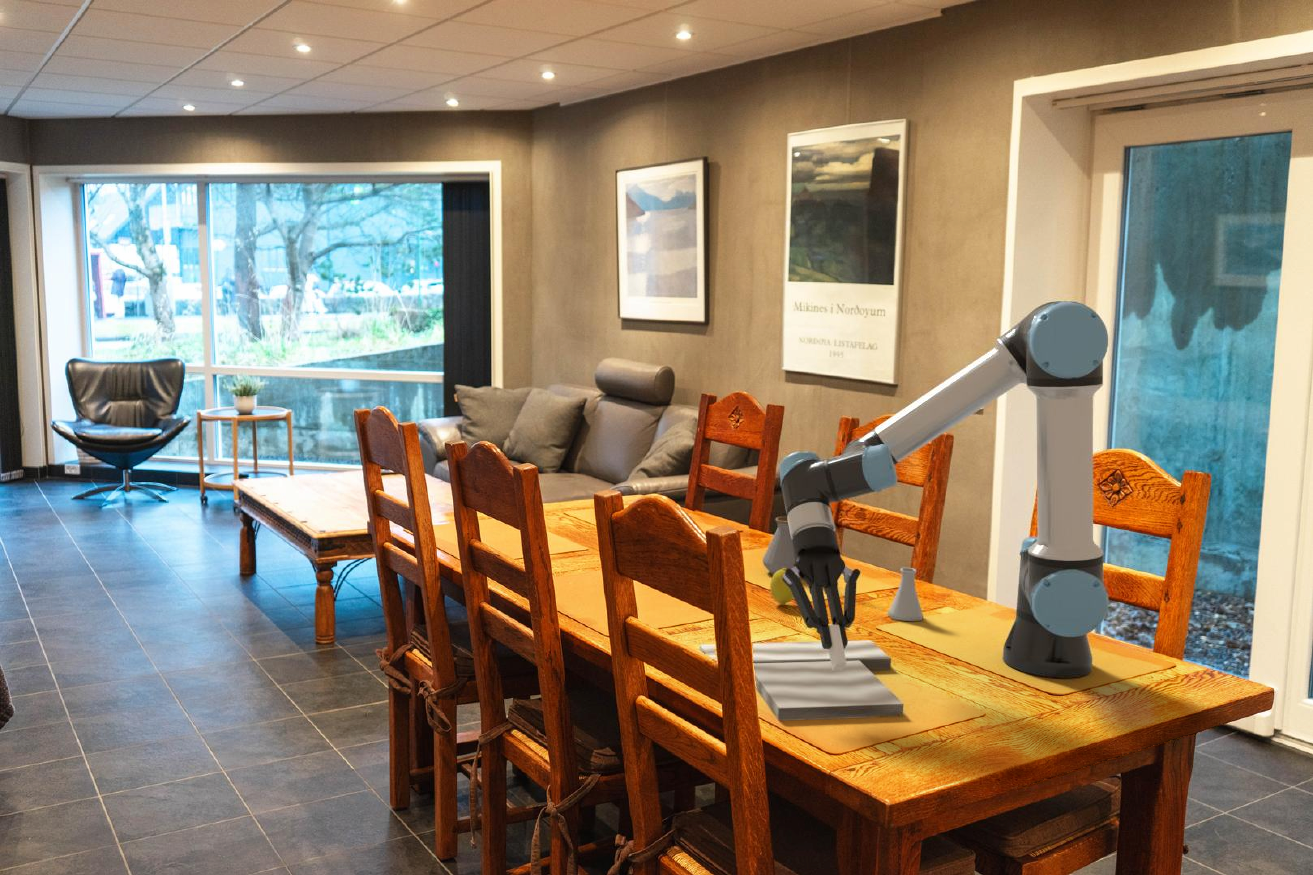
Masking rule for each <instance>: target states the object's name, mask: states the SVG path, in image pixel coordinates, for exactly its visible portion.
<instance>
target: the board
mask: <svg viewBox="0 0 1313 875" xmlns="http://www.w3.org/2000/svg"><path fill="white" fill-rule="evenodd" d="M715 644H716V643H714V644H713V643H712V644H711V643H709V644H705V643H704V644H699V652H700V651H701V652H702V653H704V654H706V655H709V656H710V657H711V658H712V659H716V655H715ZM844 653H845V658H846V661H858V660H859V661H860V662H861V663H862V664H863V665H865V666H866V667H867V668H868V669H869V670H870V671H879V670H880V671H882V670H883V671H884V670H885V671H886V670H888V671H889V670H891V669H892V668H891V666H892V665H891V663H892V658H891V657H890V656H889V655H888V654H886V652H884V650H882V649H881V648H880V647H879V646H878V645H877V644H876V643H875V642H873V641H872V640H870V639H869V640H866V639H865V640H848V643H847V646H846V647H845V649H844ZM822 661H831V660H830V655H829V650H828V649H824V648H823V647H822V642H821V641H794V642H793V641H790V642H788V641H787V642H753V663H786V662H822Z"/></svg>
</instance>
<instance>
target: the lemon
mask: <svg viewBox="0 0 1313 875" xmlns="http://www.w3.org/2000/svg"><path fill="white" fill-rule="evenodd" d="M786 570H787V569H786V568H782V569H781V570H778V571H777V572H775V574H774V575H773V574H772V577H771V580H770V585H769V588H770V590H769V591H770V594H771V596H772V598H773V599H774V600H775V601H776V602H778V603H779V605H780V606H785V605H786V604H788V603H789V602H791V601H793V599H794V597H793V594H792V592H791V590H790V588H789V587H788V586H787V585H786V584H785V583H784V581H783V580H782V577H783V575H784V573H785V571H786Z"/></svg>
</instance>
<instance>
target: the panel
mask: <svg viewBox="0 0 1313 875" xmlns="http://www.w3.org/2000/svg"><path fill="white" fill-rule="evenodd" d="M846 662H847V663H846V665H845V666H844V668H843V669H842V671H832V666H831V661H822V662H786V663H754V670H755V681H756V687H757V689H756V691H757V692H758V694H759V695H760V696H761V698H762V700H763V701H764V702H765V703H766V705H767V707H768V708H769V709H770V711H771V712H772V713H773V715H774V716H775V718H776V719H777V720H778V721H801V720H804V721H805V720H806V719H807V720H827V719H830V720H831V719H852V718H853V719H858V718H860V719H861V718H878V717H877V716H889V717H902V716H901V715H903V716H904V702H903V701H902V700H900V699H899V698H898V696H896V695H895V693H894V692H892V691H891V690H890V689H889V687H887V686H886V685H885V684H884V683H883V682H882V681H881V680H880V679H879V678H878V677H877V676H876V675H875V674H874V673H873V672H872V670H869V669H868V668H867V667H866V666H865V665H863V664H862V663H861V662H860V661H859V660H858V661H846ZM897 715H899V716H897ZM875 716H876V717H875Z"/></svg>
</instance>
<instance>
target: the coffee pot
mask: <svg viewBox="0 0 1313 875" xmlns="http://www.w3.org/2000/svg"><path fill="white" fill-rule="evenodd" d="M775 522H776V523H777V529H776V530H775V533H774V534H773V537H772V538H771V541H770V543H769V545H768V547H767V549H766V551H765V553H764V555H763V557H762V563H763V566H764V567H765V569H766V570H767V571H769V573H770V574H771V575H772V576H773V575H774V574H775V572H777V571H778V570H781V569H782V568H786V569H792V568H793V567H794V564H795V558H794V552H793V547H792V538H791V535H790V530H789V524H788V519H787V516H778V517H775ZM834 526H835V531H836V530H837V527H836V525H835V524H834ZM799 578H801V577H800V576H799Z"/></svg>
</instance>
